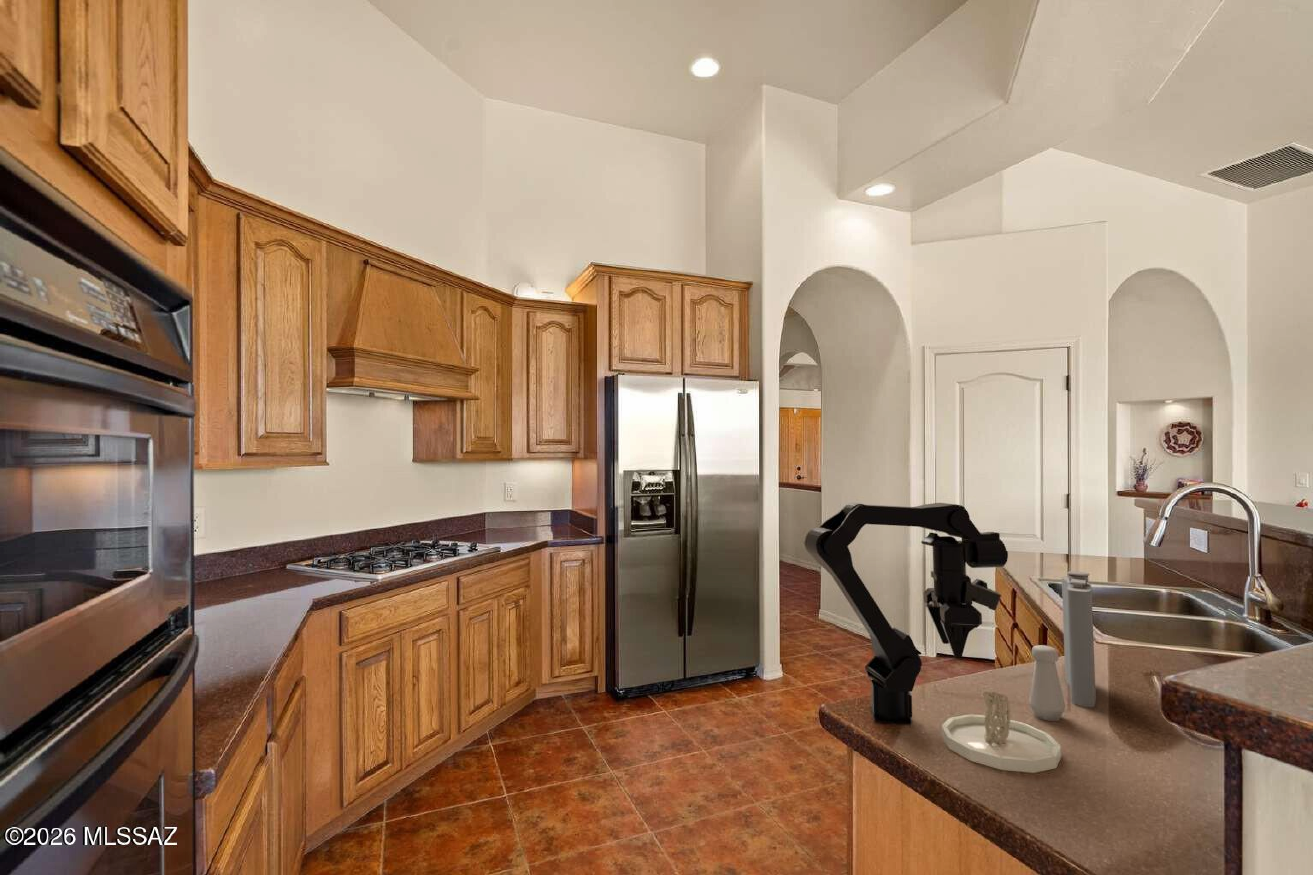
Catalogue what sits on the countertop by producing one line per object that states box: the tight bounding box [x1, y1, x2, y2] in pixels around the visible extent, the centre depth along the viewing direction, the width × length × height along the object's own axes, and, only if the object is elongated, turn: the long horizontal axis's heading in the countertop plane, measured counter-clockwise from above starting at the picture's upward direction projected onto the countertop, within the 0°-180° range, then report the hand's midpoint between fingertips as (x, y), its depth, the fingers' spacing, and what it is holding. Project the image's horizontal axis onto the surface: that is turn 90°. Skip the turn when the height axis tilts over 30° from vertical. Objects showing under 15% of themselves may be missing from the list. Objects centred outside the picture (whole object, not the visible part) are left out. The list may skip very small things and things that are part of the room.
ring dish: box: [941, 713, 1062, 774], centre depth 103 cm, size 17×17×2 cm
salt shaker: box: [1028, 644, 1066, 722], centre depth 115 cm, size 6×6×13 cm
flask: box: [1061, 570, 1097, 708], centre depth 127 cm, size 17×5×25 cm, turn 150°
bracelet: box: [982, 691, 1011, 744], centre depth 104 cm, size 4×8×8 cm, turn 149°
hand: (951, 650), depth 117 cm, fingers open, 9 cm apart
